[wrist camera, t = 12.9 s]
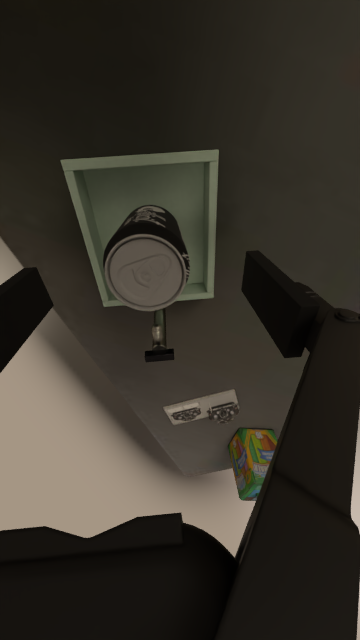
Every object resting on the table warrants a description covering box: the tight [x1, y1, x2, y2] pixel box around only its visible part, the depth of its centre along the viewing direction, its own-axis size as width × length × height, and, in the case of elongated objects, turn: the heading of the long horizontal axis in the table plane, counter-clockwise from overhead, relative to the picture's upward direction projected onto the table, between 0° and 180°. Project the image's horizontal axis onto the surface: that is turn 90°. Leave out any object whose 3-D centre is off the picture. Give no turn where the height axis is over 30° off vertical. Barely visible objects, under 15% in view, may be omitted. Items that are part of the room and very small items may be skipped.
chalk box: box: [228, 428, 278, 501], centre depth 49 cm, size 9×9×15 cm
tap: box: [145, 308, 174, 362], centre depth 25 cm, size 4×3×12 cm
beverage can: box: [103, 205, 190, 311], centre depth 20 cm, size 7×7×12 cm
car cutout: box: [163, 389, 240, 425], centre depth 44 cm, size 15×7×4 cm, turn 108°
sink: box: [61, 150, 219, 307], centre depth 24 cm, size 15×14×4 cm
